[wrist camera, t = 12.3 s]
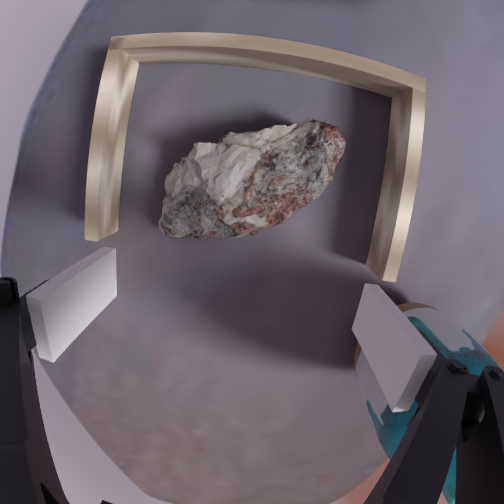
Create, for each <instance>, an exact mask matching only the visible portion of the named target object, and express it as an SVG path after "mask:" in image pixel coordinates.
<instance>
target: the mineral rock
mask: <svg viewBox="0 0 504 504" xmlns="http://www.w3.org/2000/svg"><path fill="white" fill-rule="evenodd" d="M345 146H346V144H345V140H344V137H343V136H342V135H341V133H340V132H339V131H338V129H337V127H335V126H332V125H330V124H327V123H325V122H320V121H319V120H317V121H316V120H313V119H310V118H307V119H306V120H305V121H304V122H303V123H302V124H299V123H295V124H292V125H291V126H286V125H273V126H272V127H271V128H266V129H262V130H259V131H255V132H243V133H234V132H230V133H228V134H226V133H225V134H224V135H223V136H222V137H220V138H219V139H218V141H217V142H216V143H210V142H208V143H200V142H198V143H194V148H193V149H192V151H190V153H189V154H188V155H187V156H186V157H183V158H182V161H181V163H175V164H174V167H173V169H172V171H171V172H170V173H169V174H168V175H167V176H166V180H165V190H166V193H167V195H166V196H165V198H164V200H163V203H162V204H163V208H162V216H161V218H160V220H159V227H158V229H159V230H160V231H161V232H162V233H164V234H166V235H168V236H170V237H175V238H181V237H187V236H192V237H194V238H196V237H198V238H199V239H201V240H203V239H205V238H207V237H214V238H219V239H222V238H227V237H230V236H234V238H235V239H237V238H241V237H243V236H245V235H255V234H256V233H257V232H258V231H262V230H266V229H267V228H270V227H272V226H275V225H277V224H282V223H283V222H285V221H286V220H287V219H288V218H289V217H290V216H291V215H292V214H293V213H294V212H295V211H296V210H298V209H300V208H301V207H304V206H306V205H307V204H308V203H311V202H312V201H314V200H316V199H317V198H318V197H319V196H320V195H321V194H322V193H323V192H324V190H325V188H326V187H327V186H328V185H329V184H330V183H331V181H332V180H333V175H334V172H335V170H336V167H337V164H338V162H339V161H340V160H341V158H342V155H343V153H344V150H345Z"/></svg>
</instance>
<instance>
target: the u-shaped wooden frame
mask: <svg viewBox="0 0 504 504" xmlns="http://www.w3.org/2000/svg"><path fill="white" fill-rule="evenodd" d="M140 63H204V64H221V65H234V66H244V67H254V68H262V69H269V70H276V71H283V72H289V73H295V74H300V75H306V76H311V77H316V78H321V79H325V80H330V81H334V82H338V83H343V84H347V85H350V86H354V87H358V88H362V89H365V90H369V91H372V92H376V93H379V94H382V95H385V96H389V97H392V104H391V115H390V126H389V135H388V143H387V151H386V159H385V166H384V173H383V179H382V186H381V192H380V198H379V203H378V209H377V214H376V219H375V224H374V229H373V234H372V239H371V243H370V248H369V252H368V257H367V261H366V266H367V267H368V268H370V269H371V270H372V271H373V272H374V273H375V274H376V275H377V276H378V277H379V278H380V279H381V280H382V281H390V282H396V278H397V274H398V271H399V267H400V263H401V259H402V255H403V251H404V247H405V242H406V238H407V233H408V229H409V224H410V219H411V214H412V209H413V203H414V198H415V192H416V186H417V179H418V173H419V165H420V158H421V149H422V140H423V129H424V117H425V100H426V79H424V78H422V77H419V76H417V75H414V74H411V73H409V72H406V71H404V70H401V69H398V68H395V67H392V66H389V65H386V64H383V63H380V62H377V61H374V60H371V59H367V58H364V57H361V56H357V55H353V54H350V53H346V52H342V51H338V50H334V49H330V48H325V47H321V46H316V45H311V44H306V43H301V42H295V41H289V40H283V39H276V38H269V37H260V36H251V35H241V34H227V33H205V32H172V33H150V34H137V35H126V36H117V37H111V41H110V44H109V48H108V52H107V56H106V60H105V64H104V68H103V72H102V77H101V81H100V86H99V91H98V96H97V102H96V107H95V113H94V120H93V126H92V134H91V141H90V150H89V159H88V170H87V183H86V201H85V240H90V241H99V240H101V239H103V238H105V237H107V236H109V235H111V234H113V233H115V232H117V231H118V224H119V204H120V190H121V178H122V167H123V158H124V149H125V141H126V134H127V127H128V120H129V114H130V108H131V102H132V97H133V91H134V86H135V81H136V76H137V71H138V67H139V64H140Z"/></svg>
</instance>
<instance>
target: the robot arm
mask: <svg viewBox="0 0 504 504" xmlns="http://www.w3.org/2000/svg"><path fill="white" fill-rule="evenodd" d="M116 296H117V286H116V248H111V247H102V248H100V249H99V250H97V251H95V252H93V253H92V254H90V255H88V256H87V257H85V258H83V259H82V260H80V261H79V262H77V263H75V264H74V265H72V266H70V267H69V268H67V269H66V270H64V271H62V272H61V273H59V274H58V275H56V276H55V277H53V278H51V279H49V280H46V281H44V282H43V283H41V284H40V285H39V286H37V287H35V288H34V289H33V290H31V291H29V292H28V293H26V294H25V295H23V296H22V297H20V298H19V293H18V286H17V281H16V279H14V278H12V277H1V278H0V504H69V502H68V500H67V499H66V497H65V494H64V492H63V490H62V487H61V484H60V481H59V478H58V475H57V472H56V469H55V466H54V462H53V459H52V456H51V452H50V448H49V444H48V441H47V437H46V432H45V429H44V424H43V419H42V414H41V409H40V404H39V398H38V392H37V386H36V379H35V371H34V362H33V355H32V352H31V349H32V348H33V347H35V346H37V350H38V354H39V357H40V358H43V359H45V360H48V361H50V362H54V361H55V360H56V359H57V358H58V357H59V356H60V355H61V354H62V353H63V351H64V350H65V349H66V348H67V347H68V346H69V345H70V344H71V343H72V342H73V341H74V340H75V338H76V337H77V336H78V335H79V334H80V333H81V332H82V331H83V330H84V329H85V328H86V327H87V326H88V325H89V324H90V323H91V322H92V321H93V320H94V318H95V317H96V316H97V315H98V314H99V313H100V312H101V311H102V310H103V309H104V308H105V307H106V306H107V305H108V304H109V303H110V302H111V301H112V300H113V299H114V298H115V297H116ZM352 331H353V332H354V334H355V336H356V338H357V340H358V342H359V344H360V346H361V348H362V350H363V352H364V354H365V356H366V358H367V360H368V362H369V364H370V366H371V368H372V370H373V373H374V375H375V377H376V379H377V381H378V383H379V385H380V387H381V389H382V391H383V393H384V395H385V398H386V400H387V402H388V404H389V406H390V408H391V411H392V412H401V411H408V410H409V409H410V407H411V405H412V403H413V402H414V400H416V402H417V404H418V407H417V409H416V411H415V412H414V414H413V416H412V417H411V419H410V421H409V422H408V424H407V425H406V426H408V427H407V429H406V432H405V434H404V436H403V438H402V440H401V441H400V443H399V445H398V447H397V449H396V451H395V453H394V455H393V456H392V458H391V460H390V462H389V464H388V465H387V467H386V469H385V471H384V472H383V474H382V476H381V477H380V479H379V481H378V482H377V484H376V485H375V487H374V489H373V490H372V492H371V493H370V495H369V496H368V498H367V499H366V501H365V502H364V504H437V502H438V499H439V497H440V494H441V491H442V489H443V486H444V483H445V480H446V477H447V474H448V471H449V468H450V464H451V461H452V458H453V454H454V451H455V447H456V490H455V504H504V372H503V371H502V369H499V367H495V366H490V365H488V366H485V367H484V369H483V371H482V372H481V374H480V375H474V374H470V373H469V369H468V368H467V366H465V365H464V364H463V363H461V362H459V361H458V360H454V359H446V358H445V357H444V356H443V355H442V353H441V352H440V351H439V350H438V349H437V347H436V346H434V344H433V343H432V341H430V339H429V338H428V337H427V336H426V334H425V333H423V332H422V331H420V330H419V329H417V328H415V327H414V325H413V324H412V323H411V322H410V321H409V320H408V318H407V317H406V316H405V315H404V314H403V313H402V311H401V310H400V309H399V308H398V307H397V306H396V305H395V303H394V302H393V301H392V300H391V299H390V298H389V297H388V296H387V294H386V293H385V292H384V291H383V290H382V289H381V288H380V287H379V286H378V285H376V284H368V283H365V285H364V289H363V292H362V296H361V299H360V303H359V306H358V310H357V313H356V317H355V320H354V323H353V326H352ZM101 504H112V503H109V502H106V501H104V500H102V502H101Z"/></svg>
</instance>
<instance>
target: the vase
mask: <svg viewBox="0 0 504 504" xmlns="http://www.w3.org/2000/svg"><path fill="white" fill-rule="evenodd" d="M396 306H397V307H398V308H399V309H400V310H401V311H402V313H403V314H404V315H405V316H406V317H407V318H408V320H409V321H410V322H411V323H412V324H413V325H414V327H415V328H417V329H419V330H420V331H422V332H423V333H425V334H426V336H427V337H428V338H429V339H430V341H432V343H433V344H434V346H436V347H437V349H438V350H439V351H440V352H441V353H442V355H443V356H444V357H445V358H446V359H454V360H458V361H459V362H461V363H463V364H464V365H465V366H467V368H468V369H469V373H470V374H474V375H480V374H481V372H482V371H483V369H484V367H485V366H488V365H490V366H495V367H499V365H498V364H497V363H496V361H494V359H493V358H492V357H491V355H490V354H489V353H488V352H487V351H486V350H485V349H484V348H483V346H482V345H481V344H480V343H479V342H478V341H477V340H476V339H474V338H473V337H472V336H471V335H470V334H469V333H468V332H467V331H466V330H465V329H464V328H462V327H461V326H460V325H459V324H457V323H456V322H455V321H454V320H452V319H451V318H449V317H448V316H446V315H445V314H443V313H442V312H440V311H439V310H437V309H435V308H433V307H431V306H428V305H425V304H421V303H404V304H399V305H396ZM499 369H501V368H500V367H499ZM354 370H355V376H356V381H357V384H358V388H359V391H360V394H361V397H362V400H363V403H364V406H365V408H366V411H367V413H368V416H369V418H370V421H371V423H372V426H373V428H374V430H375V433H376V435H377V437H378V439H379V441H380V443H381V445H382V447H383V449H384V451H385V452H386V454H387V456H388V457H389V459H390V460H391V458H392V456H393V455H394V453H395V451H396V449H397V447H398V445H399V443H400V441H401V440H402V438H403V436H404V434H405V432H406V429H407V427H408V426H406V425H407V424H408V422H409V421H410V419H411V417H412V416H413V414H414V412H415V411H416V409H417V407H418V404H417V402H416V400H414V402H413V403H412V405H411V407H410V409H409V410H408V411H401V412H392V411H391V408H390V406H389V404H388V402H387V400H386V398H385V395H384V393H383V391H382V389H381V387H380V385H379V383H378V381H377V379H376V377H375V375H374V373H373V370H372V368H371V366H370V364H369V362H368V360H367V358H366V356H365V354H364V352H363V350H362V348H361V346H360V344H359V342H358V343H357V346H356V350H355V355H354ZM455 490H456V447H455V451H454V454H453V458H452V461H451V464H450V468H449V471H448V474H447V477H446V480H445V483H444V486H443V489H442V493H443V495H444V497H445V499H446V501H447V502H448V504H455Z"/></svg>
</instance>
